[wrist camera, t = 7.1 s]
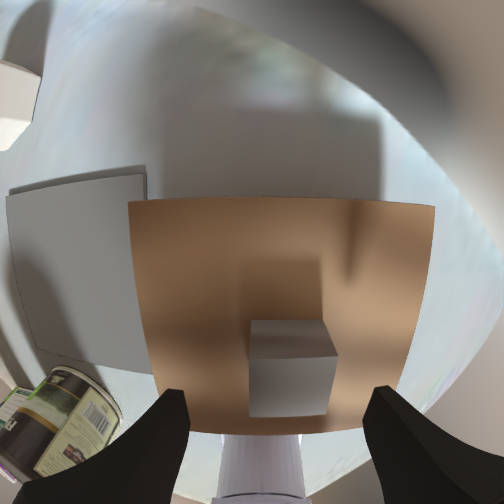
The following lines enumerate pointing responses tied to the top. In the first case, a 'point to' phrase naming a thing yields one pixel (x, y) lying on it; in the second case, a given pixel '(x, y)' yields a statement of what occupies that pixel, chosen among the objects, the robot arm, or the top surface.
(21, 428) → the coffee can
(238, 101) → the top surface
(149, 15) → the top surface
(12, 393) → the syrup box
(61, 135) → the top surface
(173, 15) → the top surface
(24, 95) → the jar
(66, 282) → the mat
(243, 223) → the lid
